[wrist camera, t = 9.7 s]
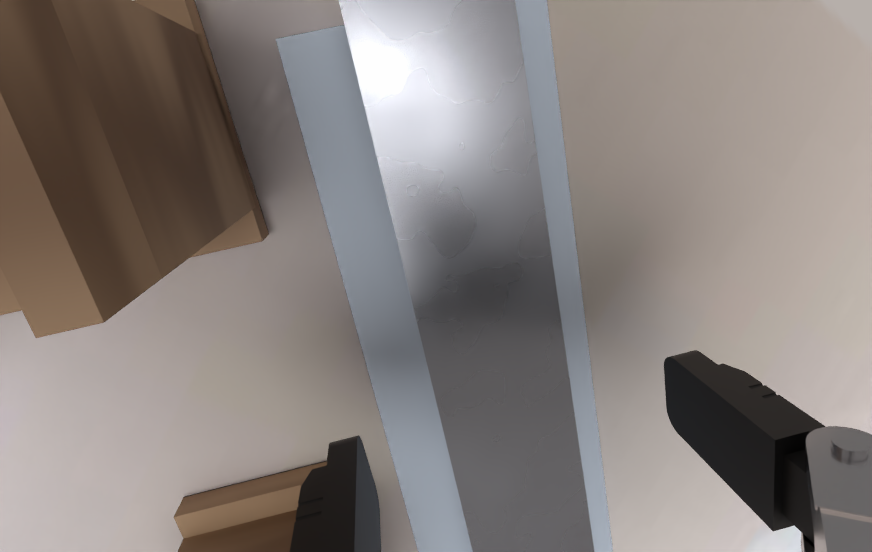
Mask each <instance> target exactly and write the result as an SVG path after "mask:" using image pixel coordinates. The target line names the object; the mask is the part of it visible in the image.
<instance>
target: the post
mask: <svg viewBox="0 0 872 552" xmlns="http://www.w3.org/2000/svg"><path fill="white" fill-rule="evenodd" d="M267 235H268V231H267V227H266V224H265V221H264V218H263V215H262V212H261V209H260V205H259V202H258V199H257V196H256V193H255V190H254V187H253V183H252V180H251V177H250V174H249V171H248V168H247V165H246V161H245V158H244V155H243V152H242V149H241V146H240V143H239V139H238V136H237V133H236V130H235V127H234V124H233V121H232V117H231V114H230V111H229V108H228V105H227V102H226V99H225V95H224V92H223V89H222V86H221V83H220V80H219V76H218V73H217V70H216V67H215V64H214V61H213V58H212V54H211V51H210V48H209V45H208V42H207V39H206V36H205V32H204V29H203V26H202V23H201V20H200V17H199V14H198V10H197V7H196V4H195V1H194V0H135V1H132V0H0V315H3V314H7V313H12V312H16V311H21V310H22V311H23V313H24V315H25V317H26V319H27V321H28V323H29V325H30V327H31V329H32V331H33V333H34V335H35V337H36V338H39V337H43V336H47V335H52V334H56V333H60V332H65V331H69V330H73V329H77V328H82V327H86V326H90V325H95V324H99V323H103V322H105V321H106V320H108V319H109V318H110V317H112V316H113V315H114V314H116V313H117V312H118V311H120V310H121V309H122V308H124V307H125V306H126V305H127V304H129V303H130V302H131V301H133V300H134V299H135V298H137V297H138V296H139V295H141V294H142V293H143V292H145V291H146V290H147V289H149V288H150V287H151V286H153V285H154V284H155V283H156V282H158V281H159V280H160V279H162V278H163V277H164V276H166V275H167V274H168V273H170V272H171V271H172V270H174V269H175V268H176V267H178V266H179V265H180V264H182V263H183V262H184V261H185V260H187V259H188V258H190V257H194V256H199V255H203V254H208V253H212V252H217V251H221V250H225V249H230V248H234V247H239V246H243V245H247V244H252V243H256V242H261V241H263V240H264V239H265V238H266V237H267Z"/></svg>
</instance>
